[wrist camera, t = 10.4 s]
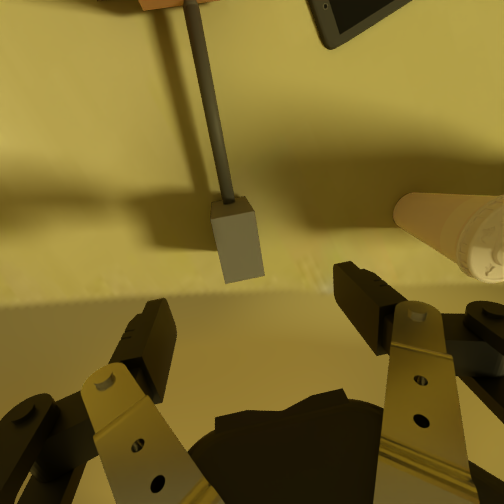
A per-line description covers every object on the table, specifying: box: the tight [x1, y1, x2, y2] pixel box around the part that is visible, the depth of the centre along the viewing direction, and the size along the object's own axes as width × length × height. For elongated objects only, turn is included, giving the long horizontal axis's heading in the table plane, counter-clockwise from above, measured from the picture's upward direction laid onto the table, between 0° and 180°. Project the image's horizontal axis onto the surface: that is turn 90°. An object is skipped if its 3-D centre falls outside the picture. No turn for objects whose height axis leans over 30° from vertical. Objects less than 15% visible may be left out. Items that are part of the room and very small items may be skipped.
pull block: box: [138, 0, 265, 284], centre depth 16 cm, size 25×6×7 cm, turn 9°
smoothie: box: [393, 192, 504, 283], centre depth 19 cm, size 6×6×14 cm
